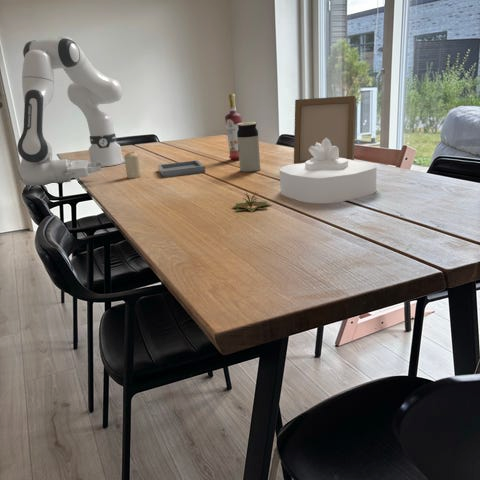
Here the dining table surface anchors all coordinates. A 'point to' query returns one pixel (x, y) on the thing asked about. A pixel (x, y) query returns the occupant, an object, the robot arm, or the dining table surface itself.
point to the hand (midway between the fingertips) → (100, 166)
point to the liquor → (233, 128)
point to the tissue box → (327, 177)
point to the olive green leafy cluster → (251, 204)
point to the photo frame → (324, 125)
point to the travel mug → (248, 147)
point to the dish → (181, 168)
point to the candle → (132, 165)
